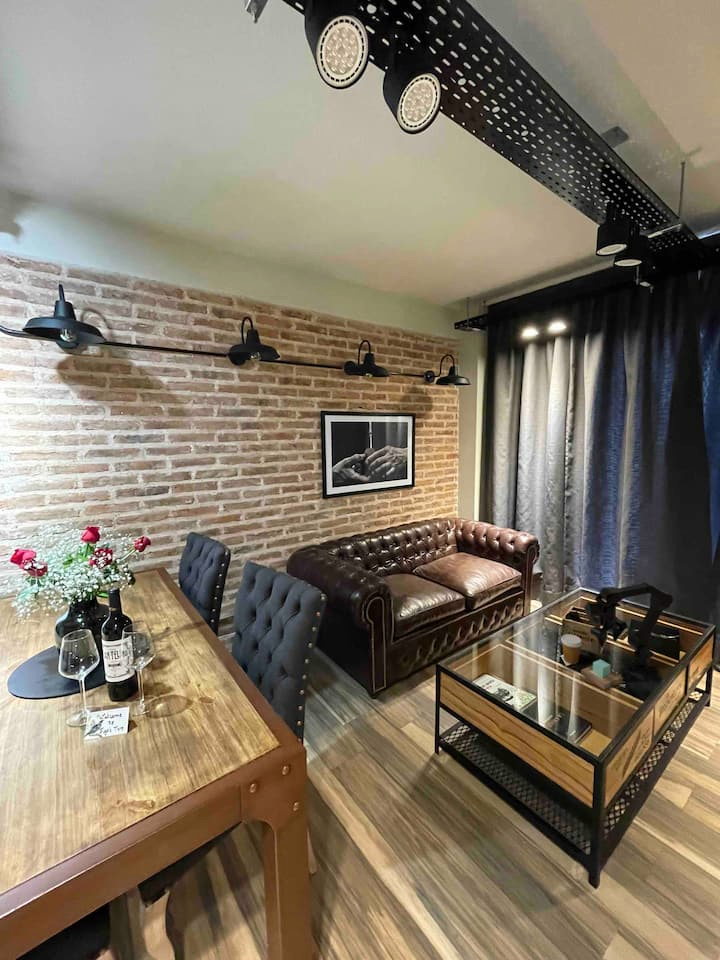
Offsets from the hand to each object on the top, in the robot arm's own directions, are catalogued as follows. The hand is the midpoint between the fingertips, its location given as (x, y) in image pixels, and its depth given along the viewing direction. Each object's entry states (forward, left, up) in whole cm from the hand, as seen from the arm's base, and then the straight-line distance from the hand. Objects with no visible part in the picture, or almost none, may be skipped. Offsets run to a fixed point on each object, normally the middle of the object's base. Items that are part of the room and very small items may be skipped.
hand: (608, 643), depth 196 cm
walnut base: (+11, +5, -12) cm, 17 cm away
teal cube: (+11, +5, -9) cm, 15 cm away
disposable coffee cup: (+12, -11, -12) cm, 20 cm away
